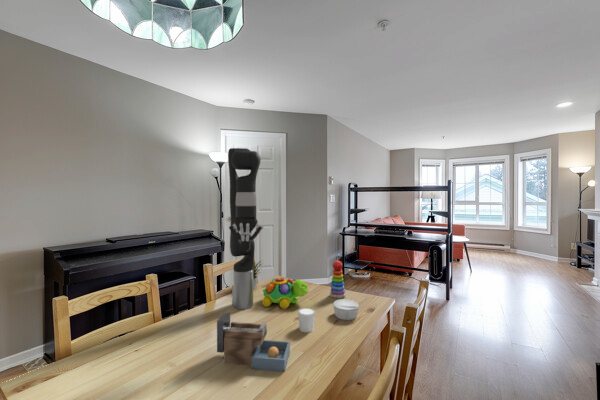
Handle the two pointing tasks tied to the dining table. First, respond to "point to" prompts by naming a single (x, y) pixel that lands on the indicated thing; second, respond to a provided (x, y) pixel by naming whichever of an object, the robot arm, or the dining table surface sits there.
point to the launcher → (242, 343)
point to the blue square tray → (275, 364)
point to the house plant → (255, 274)
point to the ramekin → (346, 309)
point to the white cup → (306, 319)
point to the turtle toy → (283, 292)
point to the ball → (273, 352)
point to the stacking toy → (337, 281)
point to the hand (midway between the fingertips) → (246, 250)
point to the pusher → (224, 324)
